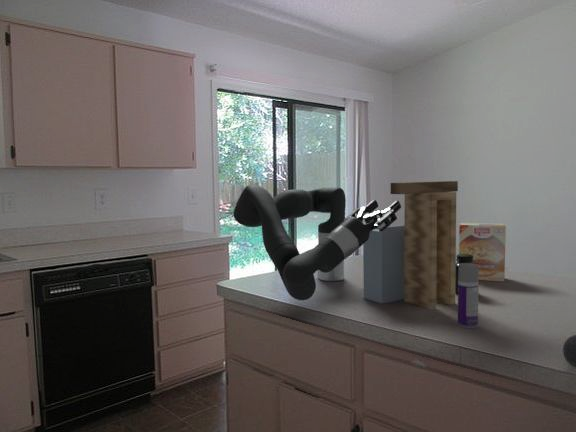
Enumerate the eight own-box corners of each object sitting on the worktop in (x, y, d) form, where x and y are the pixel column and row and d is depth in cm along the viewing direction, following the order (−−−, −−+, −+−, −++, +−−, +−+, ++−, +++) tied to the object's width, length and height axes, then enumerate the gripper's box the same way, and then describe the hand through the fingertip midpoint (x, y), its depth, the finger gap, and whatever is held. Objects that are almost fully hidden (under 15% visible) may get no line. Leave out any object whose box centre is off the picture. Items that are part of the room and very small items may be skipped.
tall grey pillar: (363, 297, 139) (363, 225, 137) (387, 293, 144) (387, 223, 142) (381, 303, 132) (381, 227, 130) (406, 298, 137) (406, 225, 135)
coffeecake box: (458, 279, 161) (458, 224, 160) (458, 275, 168) (459, 222, 166) (505, 282, 156) (506, 225, 154) (503, 277, 162) (504, 223, 161)
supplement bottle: (475, 291, 144) (476, 253, 143) (477, 296, 137) (477, 257, 136) (452, 289, 146) (453, 253, 145) (453, 295, 140) (453, 256, 139)
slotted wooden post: (404, 301, 134) (404, 192, 131) (428, 296, 139) (428, 191, 136) (431, 309, 125) (431, 193, 123) (455, 303, 130) (456, 192, 128)
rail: (390, 194, 123) (390, 183, 123) (447, 191, 136) (447, 181, 136) (400, 194, 120) (400, 182, 120) (457, 191, 133) (457, 181, 133)
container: (454, 322, 114) (454, 263, 113) (472, 321, 114) (473, 262, 113) (462, 328, 109) (463, 266, 108) (481, 327, 110) (482, 266, 108)
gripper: (335, 247, 121) (374, 213, 128) (371, 254, 109) (412, 216, 115) (323, 224, 119) (364, 190, 125) (358, 228, 107) (401, 191, 113)
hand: (387, 203), depth 120 cm, fingers open, 8 cm apart
